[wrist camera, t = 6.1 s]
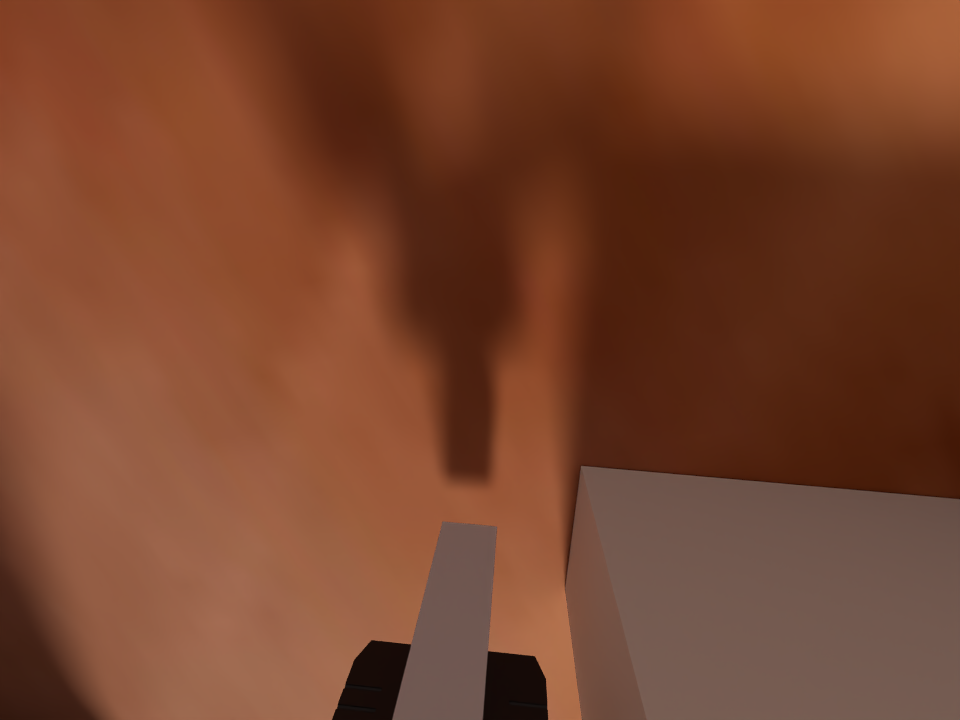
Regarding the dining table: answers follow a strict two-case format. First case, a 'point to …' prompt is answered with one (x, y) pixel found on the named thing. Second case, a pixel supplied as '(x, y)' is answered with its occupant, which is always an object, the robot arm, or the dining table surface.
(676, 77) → the dining table surface
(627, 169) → the dining table surface
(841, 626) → the white block
